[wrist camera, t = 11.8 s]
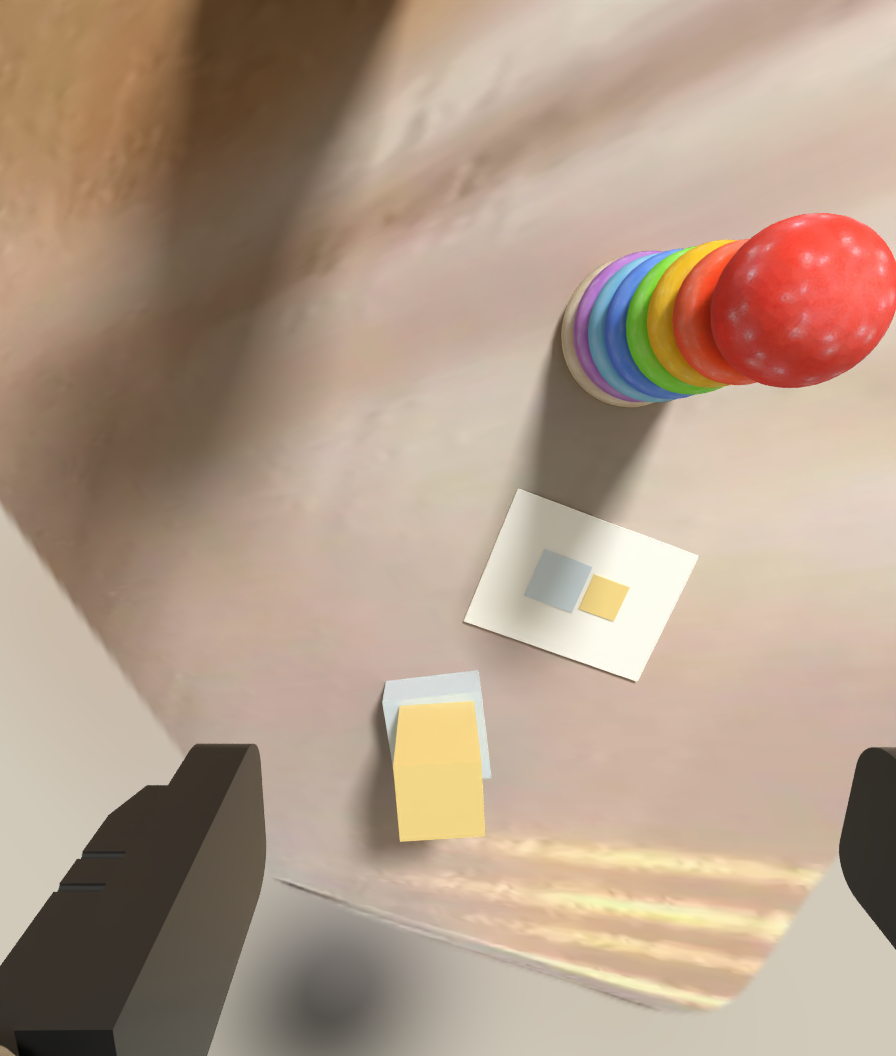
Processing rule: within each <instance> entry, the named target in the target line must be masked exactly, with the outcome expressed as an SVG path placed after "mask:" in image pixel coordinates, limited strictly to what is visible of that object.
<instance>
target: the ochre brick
mask: <svg viewBox="0 0 896 1056" xmlns="http://www.w3.org/2000/svg"><path fill="white" fill-rule="evenodd" d="M393 771H394V782H395V793H396V804H397V815H398V826H399V837H400V842H404V841H419V840H434V839H449V838H464V837H479V836H485V821H484V802H483V783H482V764H481V754H480V746H479V738H478V730H477V722H476V714H475V705H474V701H465V702H450V703H434V704H419V705H404V706H399V715H398V725H397V734H396V744H395V754H394V763H393Z"/></svg>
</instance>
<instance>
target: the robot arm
mask: <svg viewBox="0 0 896 1056" xmlns="http://www.w3.org/2000/svg"><path fill="white" fill-rule="evenodd" d="M839 856H840V863H841V867H842V871H843V874H844V877H845V880H846V882H847V884H848V886H849V888H850V890H851V892H852V894H853V895H854V896H855V898H856V899H857V901H858V902H859V903H860V904H861V906H862V907H863V908H864V910H865V911H866V912H867V913H868V915H869V916H870V917H871V919H872V920H873V921H874V922H875V924H876V925H877V926H878V927H879V929H880V930H881V931H882V932H883V934H884V935H885V936H886V938H887V939H888V940H889V941H890V943H891V944H892V945H893V946H894V948H895V949H896V748H887V747H873V748H868V749H866V750H865V751H863V753H862V754H861V755H860V757H859V759H858V762H857V765H856V769H855V774H854V779H853V783H852V788H851V792H850V797H849V801H848V806H847V811H846V815H845V820H844V824H843V829H842V834H841V838H840V844H839ZM265 860H266V833H265V819H264V805H263V790H262V776H261V761H260V754H259V750H258V747H257V745H255V744H196V745H194V746H193V747H192V748H191V750H190V751H189V753H188V754H187V756H186V757H185V759H184V761H183V762H182V764H181V765H180V767H179V769H178V770H177V772H176V774H175V775H174V777H173V778H172V780H171V781H170V783H169V785H166V786H164V785H162V786H161V785H160V786H159V785H153V786H152V785H147V786H146V787H144V788H143V789H142V790H140V791H139V792H138V793H137V794H136V795H134V796H133V797H131V798H130V799H129V800H128V801H126V802H125V803H124V804H122V805H121V806H120V807H118V808H117V809H116V810H115V811H114V812H112V813H111V814H110V815H108V817H107V818H106V820H105V821H104V822H103V824H102V825H101V826H100V828H99V829H98V831H97V832H96V834H95V835H94V836H93V838H92V839H91V840H90V842H89V843H88V845H87V846H86V848H85V849H84V850H83V854H82V857H81V859H77V860H76V861H75V863H74V864H73V865H72V867H71V868H70V870H69V871H68V873H67V874H66V875H65V877H64V878H63V879H62V881H61V882H60V886H59V890H58V892H53V894H52V895H51V896H50V898H49V899H48V900H47V902H46V903H45V904H44V906H43V907H42V909H41V910H40V912H39V913H38V914H37V916H36V917H35V918H34V920H33V921H32V923H31V924H30V925H29V927H28V928H27V930H26V931H25V932H24V934H23V935H22V937H21V938H20V939H19V941H18V942H17V943H16V945H15V946H14V948H13V949H12V951H11V952H10V953H9V955H8V956H7V957H6V959H5V960H4V962H3V963H2V965H1V966H0V1056H207V1054H208V1051H209V1048H210V1045H211V1042H212V1039H213V1036H214V1033H215V1030H216V1026H217V1024H218V1020H219V1017H220V1014H221V1011H222V1008H223V1005H224V1002H225V999H226V996H227V993H228V990H229V987H230V983H231V981H232V978H233V975H234V972H235V969H236V965H237V963H238V959H239V956H240V953H241V950H242V947H243V944H244V941H245V938H246V935H247V932H248V929H249V926H250V923H251V920H252V917H253V913H254V911H255V907H256V904H257V901H258V898H259V895H260V891H261V887H262V881H263V876H264V869H265Z"/></svg>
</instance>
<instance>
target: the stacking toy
mask: <svg viewBox="0 0 896 1056" xmlns="http://www.w3.org/2000/svg"><path fill="white" fill-rule="evenodd" d="M895 310H896V262H895V259H894V257H893V254H892V252H891V250H890V249H889V247H888V246H887V244H886V243H885V241H884V240H883V239H882V238H881V237H880V236H879V235H878V234H877V233H876V232H875V231H874V230H873V229H871V228H870V227H868V226H867V225H865V224H864V223H861V222H859V221H857V220H855V219H853V218H850V217H846V216H842V215H836V214H829V213H813V214H803V215H798V216H794V217H791V218H788V219H785V220H782V221H779V222H777V223H775V224H772V225H770V226H769V227H767V228H765V229H763V230H762V231H760V232H759V233H757V234H756V235H755V236H753V237H752V238H751V239H745V240H738V241H737V240H716V241H712V242H708V243H705V244H702V245H699V246H694V247H690V248H686V249H675V250H670V251H666V252H662V251H642V252H636V253H632V254H629V255H626V256H624V257H620V258H617V259H614V260H611V261H609V262H607V263H605V264H603V265H601V266H600V267H598V268H597V269H595V270H594V271H593V272H591V273H590V274H589V275H588V276H587V277H586V278H585V279H584V280H583V281H582V282H581V283H580V285H579V286H578V287H577V289H576V290H575V292H574V293H573V295H572V297H571V299H570V301H569V303H568V305H567V307H566V310H565V314H564V317H563V323H562V332H561V339H562V349H563V354H564V357H565V361H566V364H567V366H568V368H569V370H570V372H571V374H572V376H573V377H574V379H575V380H576V381H577V383H578V384H579V385H580V386H581V387H582V388H583V389H584V390H585V391H586V392H588V393H589V394H590V395H592V396H593V397H595V398H596V399H598V400H601V401H603V402H605V403H608V404H611V405H615V406H621V407H639V406H645V405H649V404H652V403H655V402H666V401H671V400H675V399H679V398H685V397H689V396H692V395H695V394H702V393H707V392H710V391H714V390H717V389H719V388H722V387H724V386H728V385H746V384H752V383H756V382H758V383H761V384H764V385H768V386H774V387H782V388H799V387H805V386H810V385H815V384H819V383H822V382H825V381H828V380H830V379H832V378H835V377H837V376H839V375H841V374H842V373H844V372H846V371H848V370H849V369H851V368H853V367H854V366H855V365H856V364H858V363H859V362H860V361H862V360H863V359H864V358H865V357H866V356H867V355H868V354H869V353H870V352H871V351H872V350H873V349H874V348H875V347H876V346H877V344H878V343H879V342H880V340H881V339H882V337H883V336H884V335H885V333H886V331H887V329H888V328H889V326H890V324H891V321H892V319H893V317H894V313H895Z"/></svg>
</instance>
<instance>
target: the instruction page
mask: <svg viewBox="0 0 896 1056" xmlns="http://www.w3.org/2000/svg"><path fill="white" fill-rule="evenodd" d="M698 557H699V556H698V555H695V554H693V553H690V552H687V551H685V550H682V549H679V548H677V547H674V546H671V545H669V544H666V543H663V542H661V541H658V540H655V539H653V538H650V537H647V536H645V535H642V534H639V533H637V532H634V531H631V530H629V529H626V528H623V527H621V526H618V525H615V524H613V523H610V522H607V521H605V520H602V519H599V518H597V517H594V516H591V515H589V514H586V513H583V512H581V511H578V510H575V509H573V508H570V507H567V506H565V505H562V504H559V503H557V502H554V501H551V500H549V499H546V498H543V497H541V496H538V495H535V494H533V493H530V492H527V491H525V490H522V489H519V488H518V489H517V491H516V494H515V496H514V499H513V501H512V503H511V506H510V508H509V511H508V513H507V516H506V518H505V521H504V523H503V525H502V528H501V530H500V533H499V535H498V538H497V540H496V543H495V545H494V547H493V550H492V552H491V555H490V557H489V560H488V562H487V564H486V567H485V569H484V572H483V574H482V577H481V579H480V582H479V584H478V586H477V589H476V591H475V594H474V596H473V599H472V601H471V604H470V606H469V608H468V611H467V613H466V616H465V618H464V622H467V623H470V624H473V625H476V626H479V627H481V628H484V629H487V630H490V631H493V632H496V633H499V634H502V635H504V636H507V637H510V638H513V639H516V640H519V641H522V642H524V643H527V644H530V645H533V646H536V647H539V648H542V649H545V650H547V651H550V652H553V653H556V654H559V655H562V656H565V657H568V658H570V659H573V660H576V661H579V662H582V663H585V664H588V665H590V666H593V667H596V668H599V669H602V670H605V671H608V672H611V673H613V674H616V675H619V676H622V677H625V678H628V679H631V680H633V681H636V682H638V680H639V677H640V675H641V673H642V671H643V669H644V667H645V665H646V663H647V661H648V659H649V657H650V655H651V653H652V651H653V649H654V647H655V645H656V643H657V641H658V639H659V637H660V635H661V633H662V631H663V629H664V627H665V625H666V623H667V621H668V618H669V616H670V614H671V612H672V610H673V608H674V606H675V604H676V602H677V600H678V598H679V596H680V594H681V592H682V590H683V588H684V586H685V584H686V582H687V580H688V578H689V576H690V574H691V572H692V570H693V568H694V566H695V564H696V562H697V559H698Z"/></svg>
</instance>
